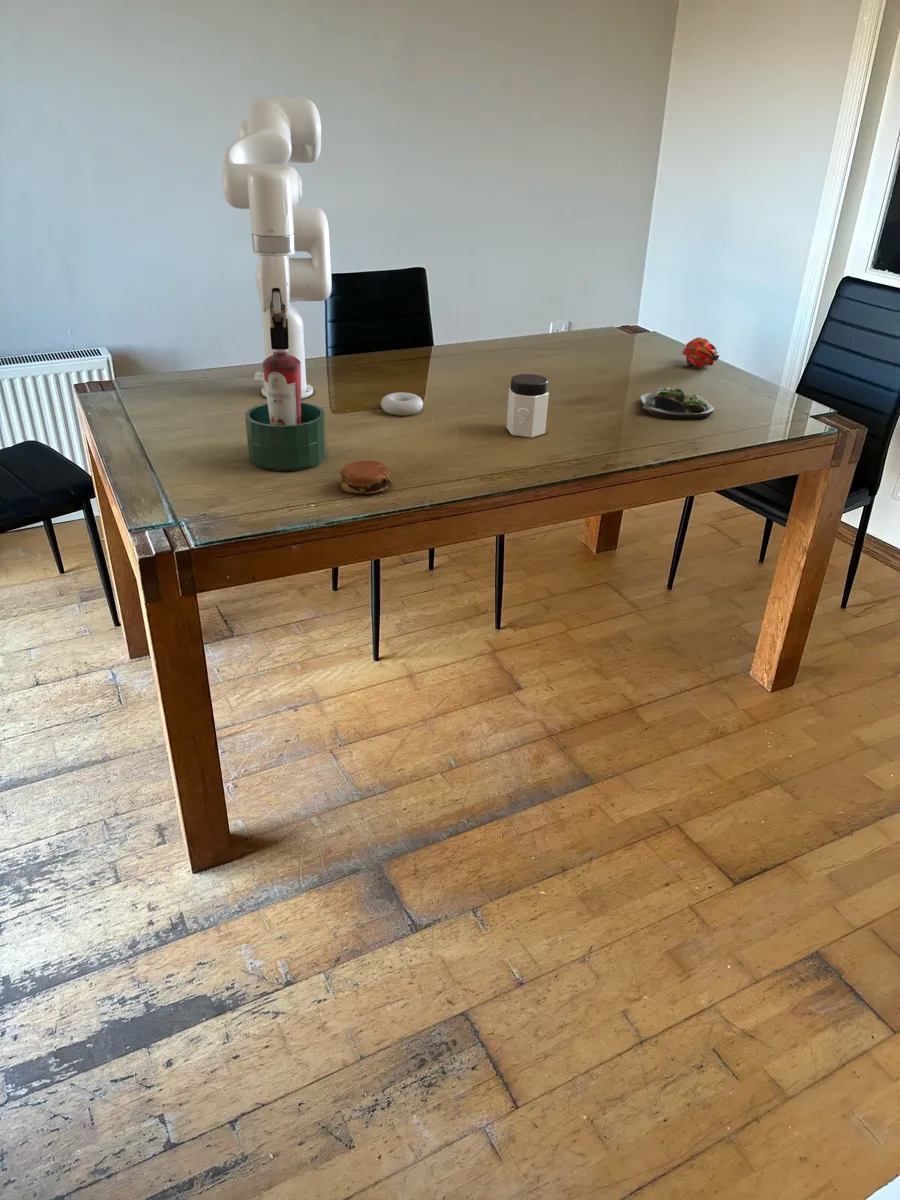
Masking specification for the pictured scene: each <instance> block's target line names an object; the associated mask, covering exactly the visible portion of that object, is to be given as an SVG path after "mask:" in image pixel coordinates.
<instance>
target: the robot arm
mask: <svg viewBox="0 0 900 1200" xmlns="http://www.w3.org/2000/svg"><path fill="white" fill-rule="evenodd" d="M318 109H319V108H317V106H316V105H315V103H314V102H313V101H312V100H310V99H309V98H306V97H294V96H293V97H291V96H261V97H259V98H256V99H255V100H254V101H252V103H250V104H249V107H248V110H247V113H246V118H245V119H243V120H242V121H240V122H239V123H238V126H237V132H236V133H237V140H236V141H235V142H233V143H231V144H230V146H228V148H227V149H226V151H225V153H224V156H223V160H222V173H221V174H222V175H221V185H222V192H223V196H224V199H225V200H226V203H228V205H229V206H231V207H232V208H235V209H240V210H249V218H250V231H251V242H252V243H251V244H252V253H253V255H256V256H258V263H257V264H256V266H255V270H254V278H255V280H254V281H255V285H256V289H257V294H258V298H259V304H260V312H261V318H262V319H261V320H262V331H263V333H262V334H263V347H264V356H265V357H264V358H265V359H266V358H268V357H269V356H272V355H273V350H282V349H288V352H289V355H291V356H294V357H296V358H297V359H298V360H299V361H300V362H301V400H302V399H305V398H308V397H310V396H312V395H313V393H314V387H313V386H312V385H311V384H310V383H307V370H306V369H307V368H306V351H305V334H304V333H305V332H304V321H303V318H302V315H301V314H300V313H299V311H298V310H297V309H296V308H295V306H294V305H292V303H295V302H323V301H324V302H325V301H326V300H328V299H329V298H330V296H331V293H332V285H333V284H332V265H331V264H332V263H331V262H332V260H331V244H330V243H331V242H330V241H331V240H330V229H329V222H328V218H327V215H326V213H325V212H324V211H323V210H322V208H319V207H316V206H299V205H298V204H299V202H300V200H302V197H303V182H302V178H301V175H300V174H299V172H298V171H297V170H296V169H295V168H294V167H293V166H291V165H287V164H289V163H295V164H296V163H297V164H300V163H301V164H309V163H310V164H311V163H314V162H316V161H317V160H318V159H319V157H320V155H321V151H322V121H321V115H320V112H319V110H318ZM296 252H303V253H304V252H306V253H308V254H309V255H310V256H311V257H289V256H292V255H295V254H296ZM282 315H283V316H282ZM285 315H286V318H285ZM265 359H264V360H265ZM253 381H254V382H257V383H262V384H263V386H262V387H261V388H260V389H261V394H262V396H264V397H265V398H267V396H266V389H265V380H264V371H263V372H262V371H256V372H255V373H254V378H253Z"/></svg>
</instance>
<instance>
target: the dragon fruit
mask: <svg viewBox="0 0 900 1200" xmlns="http://www.w3.org/2000/svg"><path fill="white" fill-rule="evenodd" d="M681 352H682V355H684V356H685V361H686V364H687V365H694V366H695V367H696V368H697V369H700V370H706V367H705V366H711V367H713V366H714V364H716V362H717V360H719V359H720V355H719V352H718V351H717V347H715V345H714V344H713V343H711V342H710V340H708V339H706V338H704V337H700V336H699V337H696V338H693V339H691V340H689V342H687V343H686V344H685V347H684V349H683V351H681Z"/></svg>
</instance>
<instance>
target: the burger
mask: <svg viewBox="0 0 900 1200" xmlns="http://www.w3.org/2000/svg"><path fill="white" fill-rule="evenodd" d="M339 473H340V481H339V482H340V483H339V484H340V487H341V490H343V492H346V493H349V494H358V495H363V494H365V495H373V494H378V493H380V492H381V493H382V492H385V490H387V489H388V488H389V487H390V486H391V484H392V480H391V477H390V475H389V468H388V466H387V464H386V463H384V462H379V461H377V460H369V459H368V460H366V459H365V460H356V461H352V462H349V463H347V464H345V465H344V466H343V467H342V468H341V470H340V472H339Z"/></svg>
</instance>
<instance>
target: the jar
mask: <svg viewBox="0 0 900 1200" xmlns="http://www.w3.org/2000/svg"><path fill="white" fill-rule="evenodd" d="M548 385H549V379H548V378H547V377H545V376H542V375H538V374H534V373H533V374H531V373H521V374H515V375H513V376H512V377H511V378H510V387H509V389H508V401H507V414H506V429H507V431H508V432H509V433H510V434H511V435H512V436H515V437H522V438H530V439H532V438H536V437H538V436H542V435H545V433H546V428H547V427H546V426H547V415H548V405H549V392H548Z"/></svg>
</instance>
